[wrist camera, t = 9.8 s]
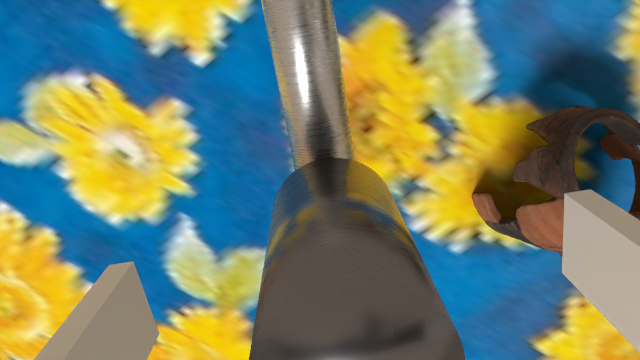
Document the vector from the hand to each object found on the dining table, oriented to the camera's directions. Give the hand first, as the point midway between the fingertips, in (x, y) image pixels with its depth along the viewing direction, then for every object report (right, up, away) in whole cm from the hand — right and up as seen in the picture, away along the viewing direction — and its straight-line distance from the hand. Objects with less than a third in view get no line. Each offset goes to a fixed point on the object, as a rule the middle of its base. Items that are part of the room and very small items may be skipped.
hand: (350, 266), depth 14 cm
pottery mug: (+15, +2, +18) cm, 23 cm away
